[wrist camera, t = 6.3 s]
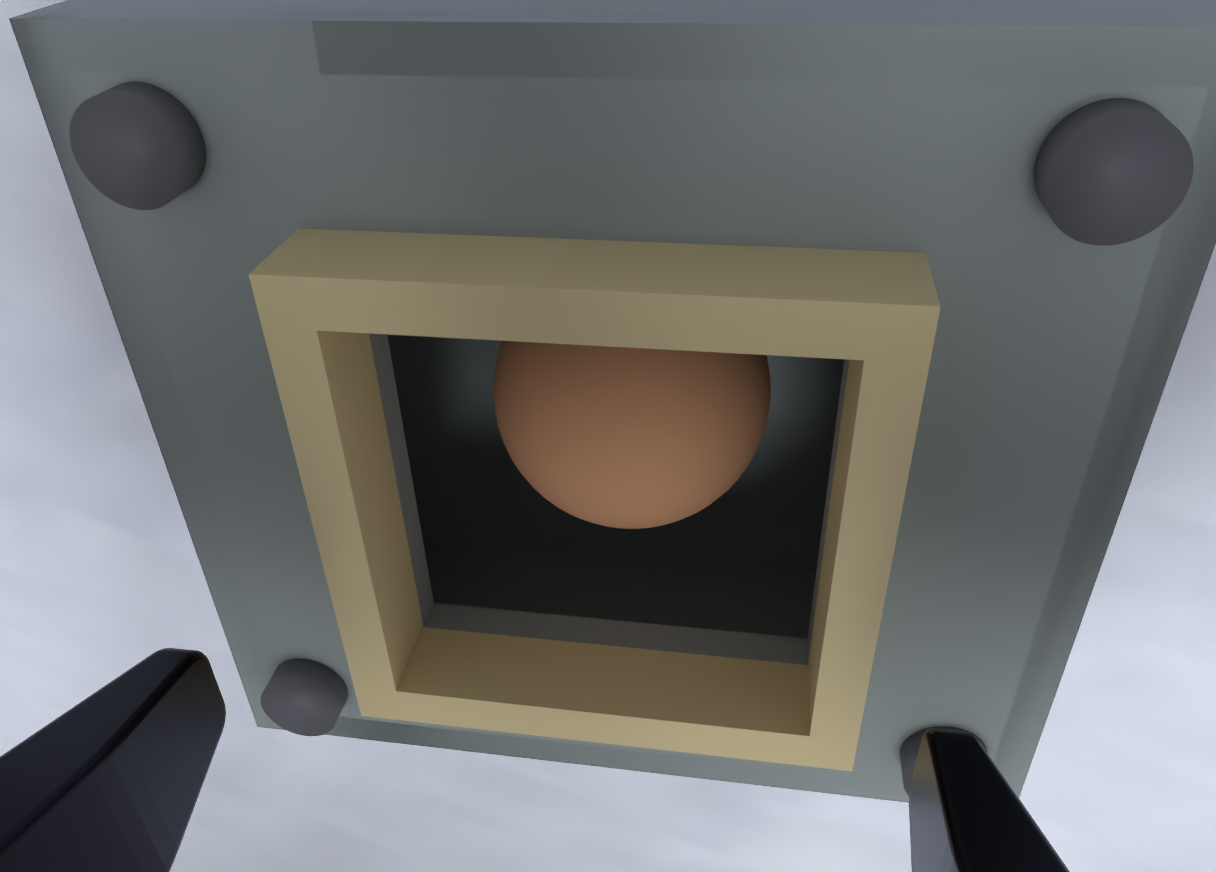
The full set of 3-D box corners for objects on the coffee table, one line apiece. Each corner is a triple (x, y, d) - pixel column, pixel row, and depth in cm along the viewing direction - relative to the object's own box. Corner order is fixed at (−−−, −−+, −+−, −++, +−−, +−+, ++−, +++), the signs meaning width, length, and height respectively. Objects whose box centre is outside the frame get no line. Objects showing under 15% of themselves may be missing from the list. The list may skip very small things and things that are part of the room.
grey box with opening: (365, 533, 20) (222, 788, 15) (238, -54, 14) (-78, 45, 9) (963, 584, 18) (1029, 890, 13) (1123, -58, 12) (1360, 62, 7)
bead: (536, 421, 17) (476, 574, 14) (518, 204, 15) (442, 326, 12) (764, 436, 16) (759, 599, 13) (781, 212, 14) (780, 342, 11)
